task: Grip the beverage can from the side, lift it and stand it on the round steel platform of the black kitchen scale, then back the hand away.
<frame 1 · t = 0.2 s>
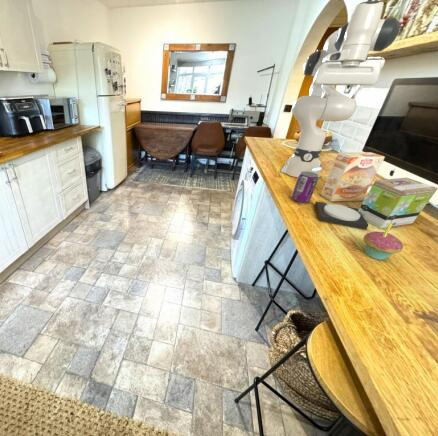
hand: (337, 98, 94), 39 cm above the counter, tool pointing down, fingers open, 8 cm apart
coffeecake box: (340, 198, 106), on the counter
tea box: (382, 220, 90), on the counter, touching scale
cupcake: (374, 255, 71), on the counter
beverage can: (299, 200, 103), on the counter
scale: (337, 216, 91), on the counter
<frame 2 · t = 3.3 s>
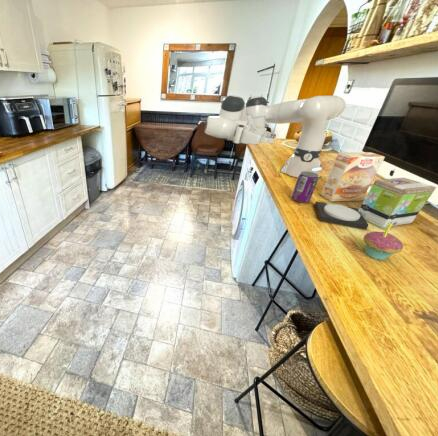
hand: (274, 138, 98), 24 cm above the counter, tool horizontal, fingers open, 8 cm apart
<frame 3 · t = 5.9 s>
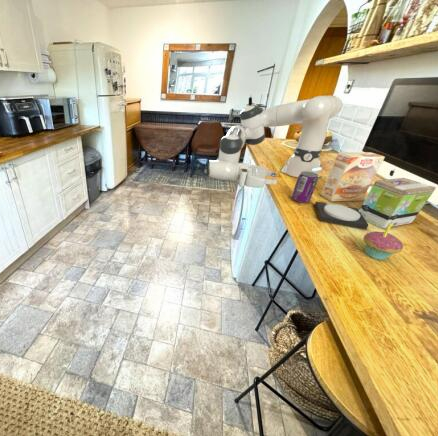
hand: (276, 178, 103), 8 cm above the counter, tool horizontal, fingers open, 8 cm apart
nothing on the counter moved.
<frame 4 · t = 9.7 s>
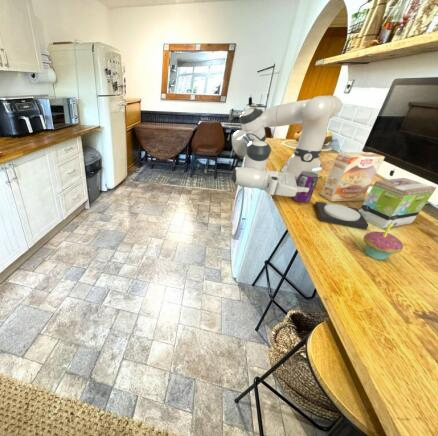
hand: (307, 186, 99), 7 cm above the counter, tool horizontal, fingers closed on beverage can, 6 cm apart
beverage can: (299, 200, 103), on the counter, touching gripper
everything else where it was.
when the fingers open (10 cm above the counter, at t = 16.6 s): beverage can stays where it is, resting on scale.
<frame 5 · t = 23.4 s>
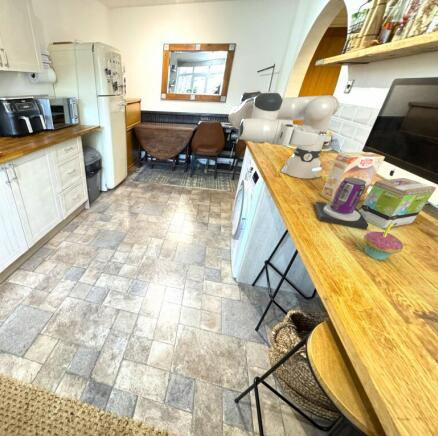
hand: (328, 136, 84), 28 cm above the counter, tool horizontal, fingers open, 8 cm apart
beverage can: (340, 211, 89), point 3 cm above the counter, touching scale
everything else where it was.
at the end: beverage can inside the target area on the scale (0.4 cm from its centre), point 2.8 cm above the scale's base; beverage can tilted 0°; the gripper is holding nothing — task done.
